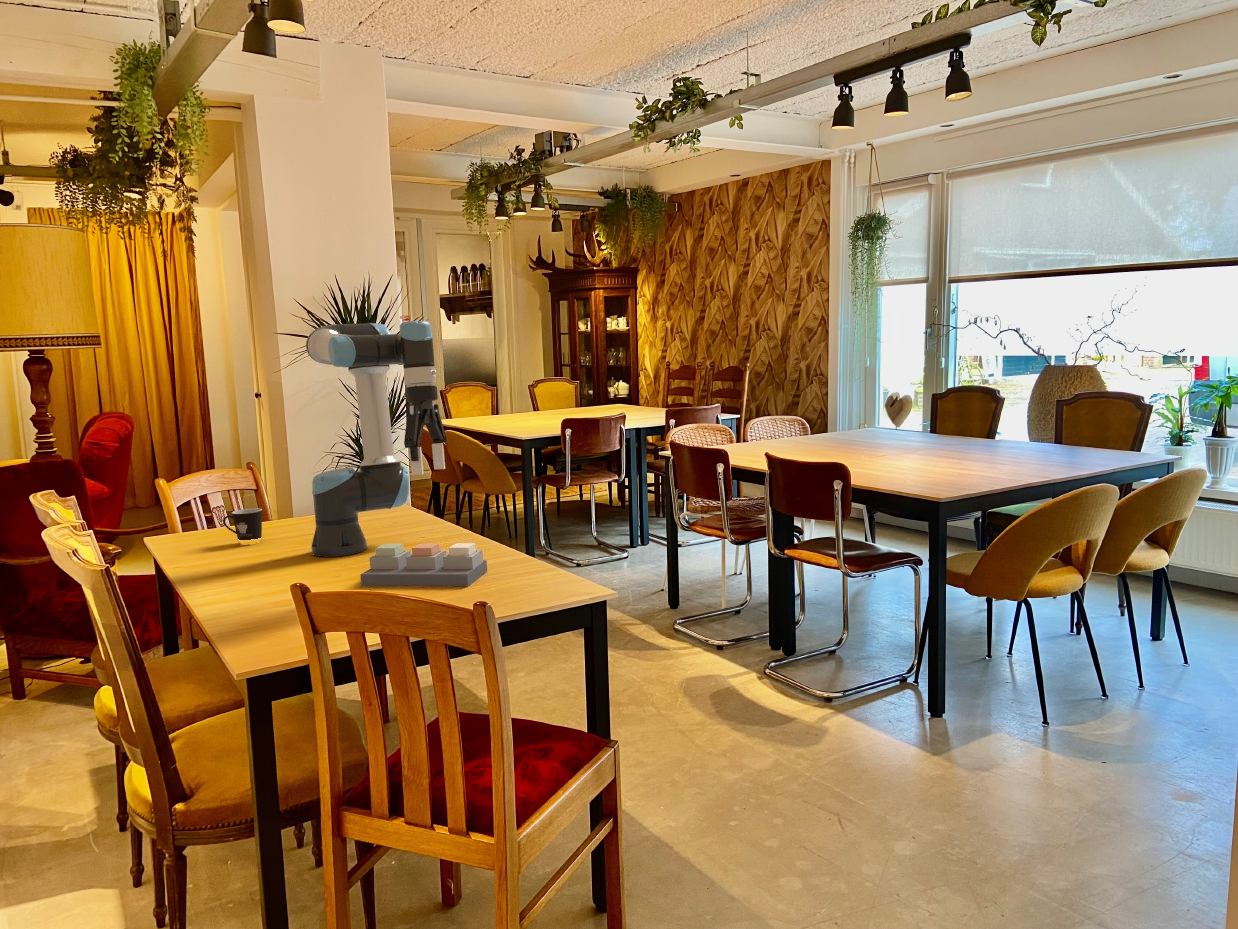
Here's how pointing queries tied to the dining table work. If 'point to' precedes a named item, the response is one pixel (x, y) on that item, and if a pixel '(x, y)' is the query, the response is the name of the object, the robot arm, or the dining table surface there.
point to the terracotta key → (425, 549)
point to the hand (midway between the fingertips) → (429, 472)
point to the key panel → (424, 570)
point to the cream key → (462, 549)
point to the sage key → (389, 550)
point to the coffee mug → (247, 523)
